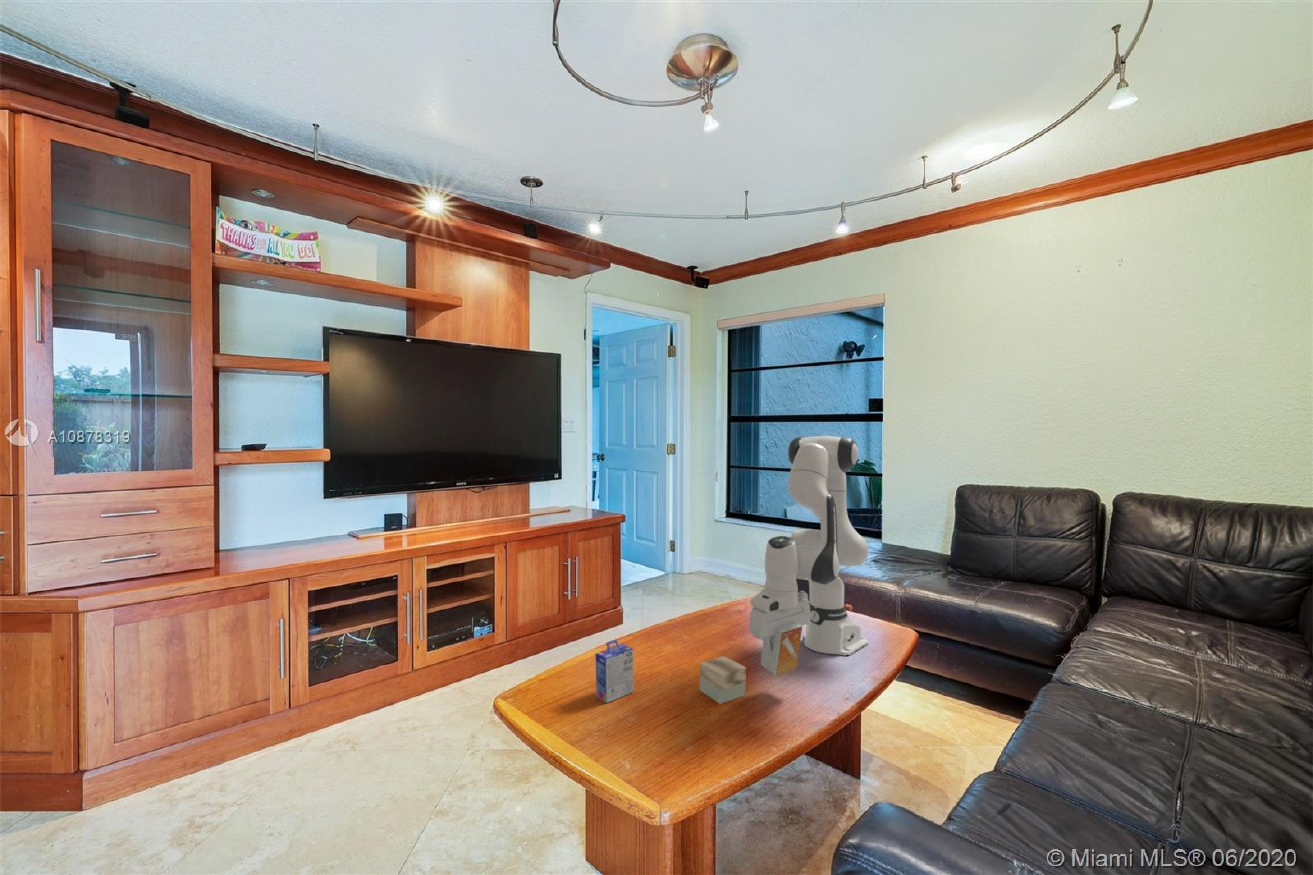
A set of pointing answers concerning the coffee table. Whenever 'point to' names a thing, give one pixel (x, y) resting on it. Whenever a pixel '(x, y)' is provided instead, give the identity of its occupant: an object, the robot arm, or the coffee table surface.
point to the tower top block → (722, 672)
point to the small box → (783, 649)
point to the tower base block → (722, 691)
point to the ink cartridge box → (614, 672)
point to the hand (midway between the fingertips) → (781, 645)
